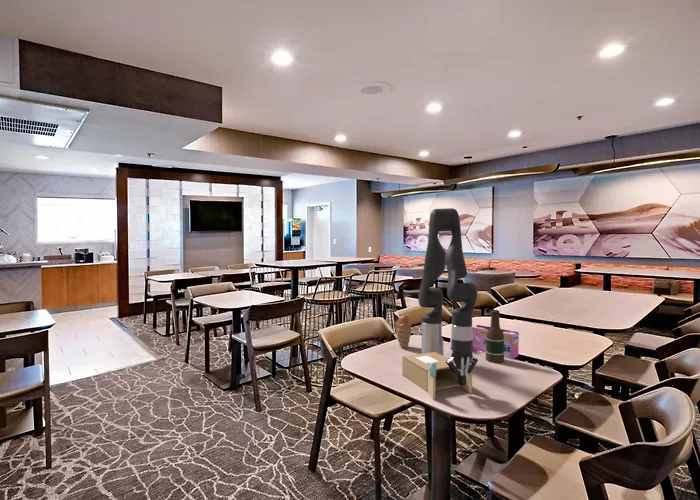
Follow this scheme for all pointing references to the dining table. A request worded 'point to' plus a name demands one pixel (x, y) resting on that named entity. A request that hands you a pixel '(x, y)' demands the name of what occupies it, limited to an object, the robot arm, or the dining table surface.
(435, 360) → the carton
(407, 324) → the brown ridged tapered piece
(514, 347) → the gum box
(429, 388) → the flap
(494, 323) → the beer bottle
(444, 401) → the dining table surface
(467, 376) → the flap
